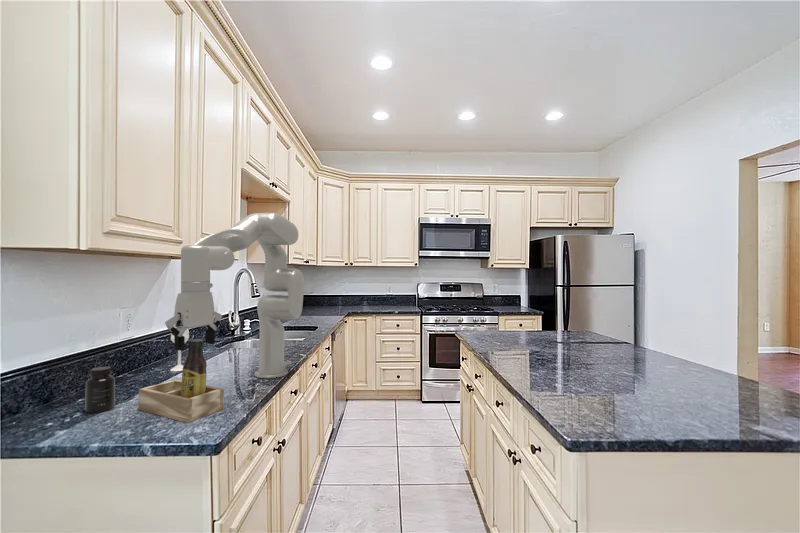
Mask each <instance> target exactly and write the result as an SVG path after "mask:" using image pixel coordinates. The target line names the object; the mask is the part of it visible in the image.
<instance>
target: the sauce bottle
mask: <svg viewBox="0 0 800 533" xmlns="http://www.w3.org/2000/svg"><path fill="white" fill-rule="evenodd" d="M187 345H188V353H187V356H186V358H185V361H184V364H183V369H182V372H181V375H182V376H181V381H182V387H181V397H186V398H192V397H195V396H198V395H201V394H204V393H205V391H206V386H207V360H206V358H205V357H204V351H203V350H204V345H205V339H203V338H192V339H188V340H187Z"/></svg>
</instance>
